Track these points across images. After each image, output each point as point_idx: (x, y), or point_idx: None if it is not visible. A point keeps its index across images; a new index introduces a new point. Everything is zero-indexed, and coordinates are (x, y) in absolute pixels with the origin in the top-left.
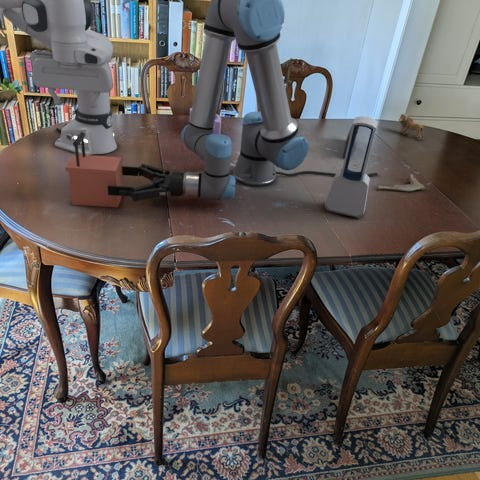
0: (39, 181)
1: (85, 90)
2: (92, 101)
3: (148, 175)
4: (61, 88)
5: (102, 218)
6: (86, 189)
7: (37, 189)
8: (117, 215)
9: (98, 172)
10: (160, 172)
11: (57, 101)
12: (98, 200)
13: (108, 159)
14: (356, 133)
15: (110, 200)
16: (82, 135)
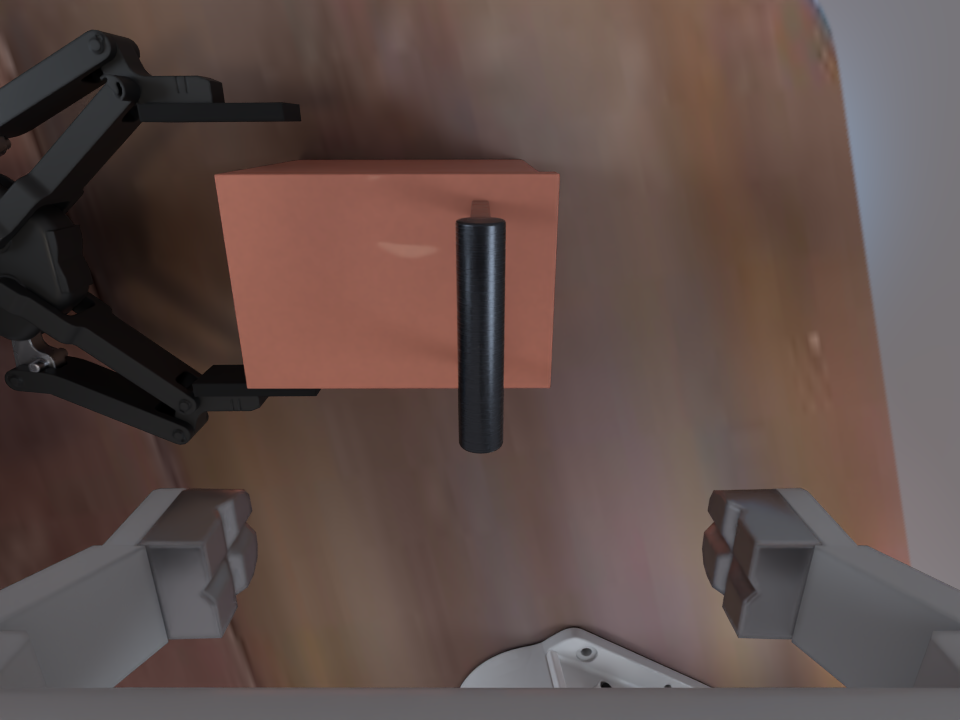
0: (722, 373)
1: (105, 693)
2: (152, 553)
3: (130, 342)
4: (789, 693)
5: (341, 31)
6: (440, 164)
7: (717, 294)
8: (276, 75)
9: (339, 172)
10: (64, 371)
11: (771, 513)
12: (386, 161)
13: (317, 346)
14: None
15: (322, 161)
16: (464, 398)
